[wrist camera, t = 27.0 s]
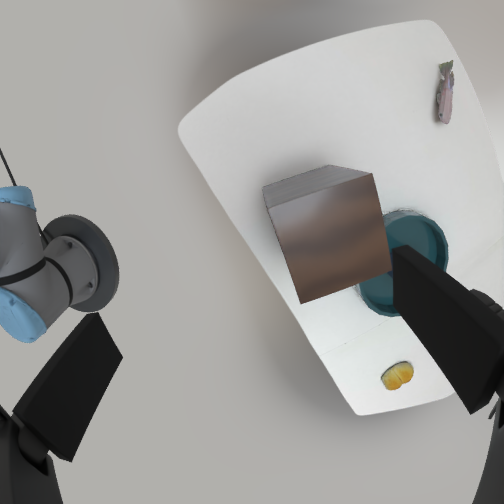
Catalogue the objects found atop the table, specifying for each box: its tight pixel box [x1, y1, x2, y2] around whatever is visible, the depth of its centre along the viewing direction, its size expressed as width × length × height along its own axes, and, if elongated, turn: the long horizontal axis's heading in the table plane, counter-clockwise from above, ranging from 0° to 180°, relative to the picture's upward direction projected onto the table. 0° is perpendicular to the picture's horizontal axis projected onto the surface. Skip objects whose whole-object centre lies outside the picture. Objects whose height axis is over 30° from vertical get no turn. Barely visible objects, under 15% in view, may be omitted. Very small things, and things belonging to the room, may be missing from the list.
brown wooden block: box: [262, 165, 392, 304], centre depth 38 cm, size 12×12×18 cm
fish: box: [436, 60, 454, 124], centre depth 35 cm, size 3×14×5 cm, turn 171°
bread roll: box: [382, 363, 414, 390], centre depth 58 cm, size 8×9×4 cm
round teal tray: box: [355, 211, 448, 317], centre depth 47 cm, size 21×21×4 cm
